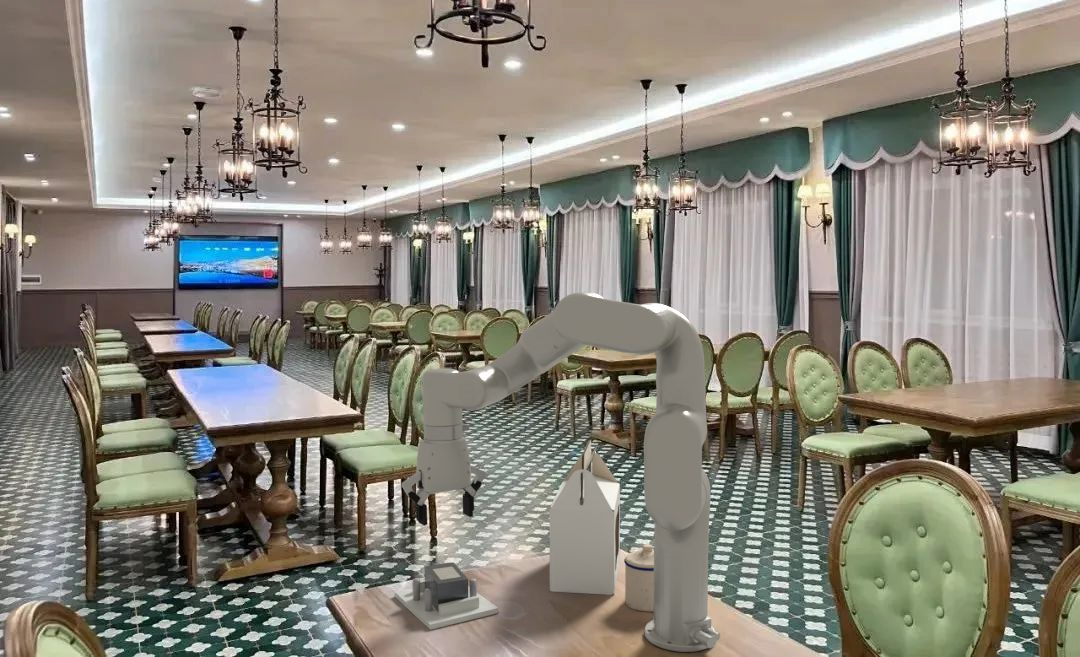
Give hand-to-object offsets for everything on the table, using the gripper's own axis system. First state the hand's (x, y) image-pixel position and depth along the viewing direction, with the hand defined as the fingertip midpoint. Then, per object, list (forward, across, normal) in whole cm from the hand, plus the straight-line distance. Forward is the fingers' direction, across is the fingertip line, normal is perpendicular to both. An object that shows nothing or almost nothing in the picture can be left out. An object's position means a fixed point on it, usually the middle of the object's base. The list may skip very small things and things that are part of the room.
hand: (445, 519), depth 156 cm
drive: (+16, 0, 0) cm, 16 cm away
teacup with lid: (+18, -35, +18) cm, 43 cm away
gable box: (+18, -33, 0) cm, 37 cm away
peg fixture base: (+17, 0, 0) cm, 17 cm away
